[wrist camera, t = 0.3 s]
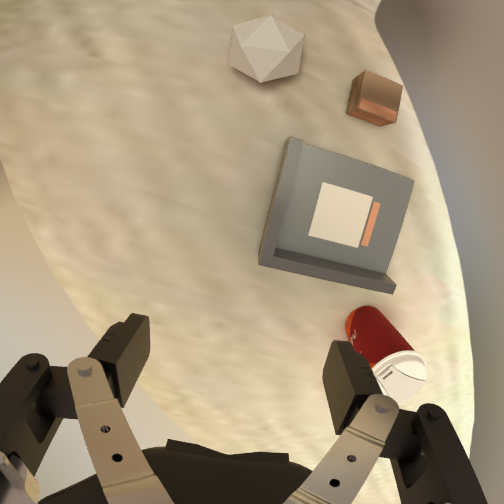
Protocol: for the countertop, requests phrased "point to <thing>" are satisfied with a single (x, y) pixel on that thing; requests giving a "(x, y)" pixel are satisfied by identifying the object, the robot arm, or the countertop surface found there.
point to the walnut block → (374, 99)
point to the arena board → (334, 218)
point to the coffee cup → (387, 354)
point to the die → (266, 48)
